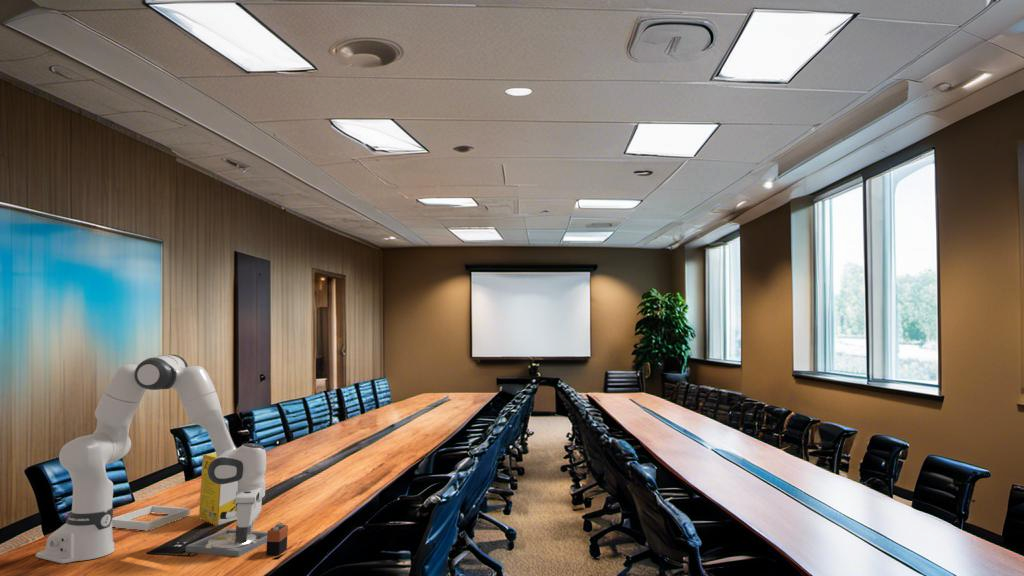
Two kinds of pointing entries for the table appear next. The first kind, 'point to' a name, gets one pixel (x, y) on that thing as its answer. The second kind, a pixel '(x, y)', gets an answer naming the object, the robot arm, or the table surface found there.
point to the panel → (209, 548)
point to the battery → (277, 540)
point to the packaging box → (216, 497)
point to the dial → (233, 539)
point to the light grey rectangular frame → (127, 523)
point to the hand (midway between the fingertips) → (249, 533)
